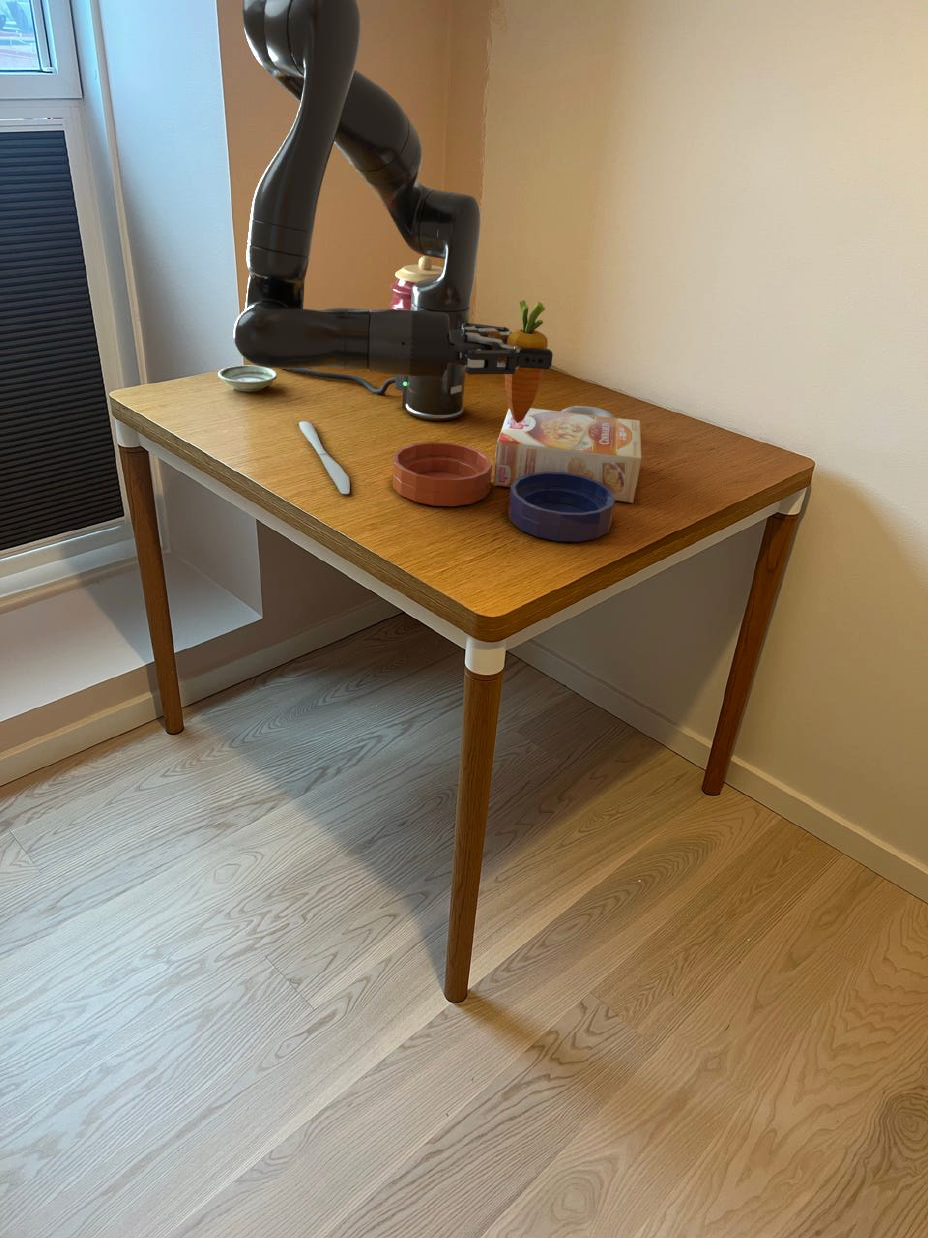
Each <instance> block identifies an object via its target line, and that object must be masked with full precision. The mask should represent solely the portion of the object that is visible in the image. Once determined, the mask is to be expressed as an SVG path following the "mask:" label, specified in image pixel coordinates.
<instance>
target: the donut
mask: <svg viewBox="0 0 928 1238" xmlns="http://www.w3.org/2000/svg"><path fill="white" fill-rule="evenodd" d="M560 412H567V413H576V414H584V415H593V416H602V417H610V418H616V416H615V415H614V414H612V413H611V412H609V411H607V410H606V409H602V408H599V407H594V406H586V405H575V406H568V407H567V408H564V409H562V410H561V411H560Z"/></svg>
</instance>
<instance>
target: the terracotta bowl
mask: <svg viewBox="0 0 928 1238" xmlns="http://www.w3.org/2000/svg"><path fill="white" fill-rule="evenodd" d="M392 458H393V459H392V460H393V461H392V488H393V489H394V491H396V493H398V494H399V495H400V496H402V497H404V498H406V499H408V500H410V501H413V502H415V503H420V504H424V505H430V506H435V507H436V506H438V507H459V506H465V505H471V504H475V503H477V502H479V501H481V500H483V499H485V498H486V497H487V495H488V494H489V493H490V492H491V485H492V474H493V464H492V459H491V458H490V457H489V456H488V455H487V454H485V453H484V452H483V451H482V450H478V449H477V448H473V447H471V446H468V445H465V444H459V443H454V442H448V441H447V442H446V441H445V442H444V441H442V442H441V441H425V442H419V443H411V444H409V445H406V446H403V447H401V448H399V449H398V450H397V451H396V452H395V453H393V457H392Z"/></svg>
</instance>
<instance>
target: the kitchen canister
mask: <svg viewBox="0 0 928 1238" xmlns="http://www.w3.org/2000/svg"><path fill="white" fill-rule="evenodd" d="M443 270H444V267H441V266H438V265H433V260H432V257H430V256H424V255H422V256H420V258H419V259H418V264H417V263H416V264H408V265H404V266H403V267H402V268H401V269H398V270H397V271H396V272H394V275H395V277H396V280H395V281H394V282H393V283H391V284H390V286H389V288H390V290H391V292H392V300H391V301H390V303H389V307H390V309H400V310H411V293H412V287H413V285H414V284H415V283H416V282H418V281H421V280H425V279H429V278H434V277H437V276H439V275H441V274H442V273H443Z"/></svg>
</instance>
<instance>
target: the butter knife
mask: <svg viewBox="0 0 928 1238" xmlns="http://www.w3.org/2000/svg"><path fill="white" fill-rule="evenodd" d="M298 427H299V429H300V431H301V432H302V434H303V435H304V437H305V438H306V439H307V441H309V442H310V444H311V445H312V447H313V448H314V450H315V451H316V453H317V454H318V456H319V458H320V460H321V461H322V463H323V466H324V467H325V469H326V471H327V473H328V475H329V477H330V478H331V479H332V481H333V483H334V484H335V485H336V487H337V489H338V491H339V493H340V494H342V495H349V494H350V487H351V483H350V482H351V481H350V477H349V476H348V474H347V473H346V471H345V470H344V469H343V468H342V467H341V465H340V464H338V462H337V461H335V460H334V459H333V458H332V457H331V456H330V455H329V454H328V453H327V451H326V450H325V449H324V448H323V446H322V444H321V442H320V438H319V435H318V433H317V431H316V429H315V427H314V425H313V424H312V423H310V422H309V421H303V420H302V421H300V422H299V423H298Z"/></svg>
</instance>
